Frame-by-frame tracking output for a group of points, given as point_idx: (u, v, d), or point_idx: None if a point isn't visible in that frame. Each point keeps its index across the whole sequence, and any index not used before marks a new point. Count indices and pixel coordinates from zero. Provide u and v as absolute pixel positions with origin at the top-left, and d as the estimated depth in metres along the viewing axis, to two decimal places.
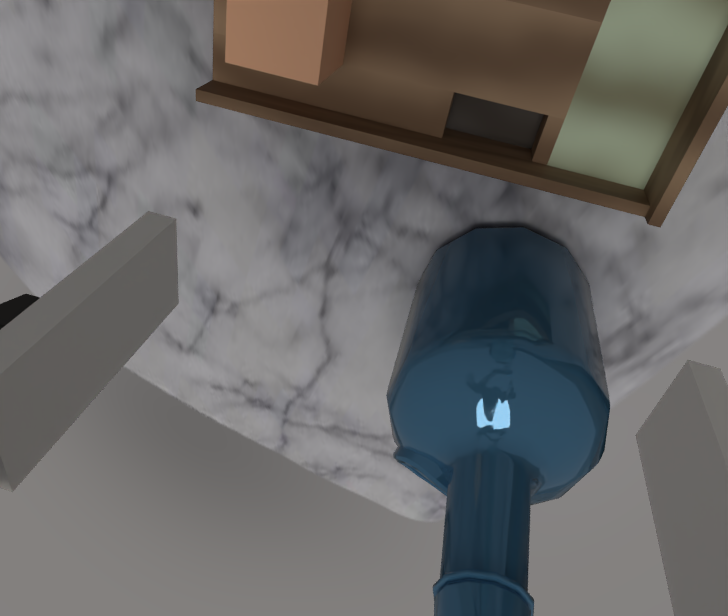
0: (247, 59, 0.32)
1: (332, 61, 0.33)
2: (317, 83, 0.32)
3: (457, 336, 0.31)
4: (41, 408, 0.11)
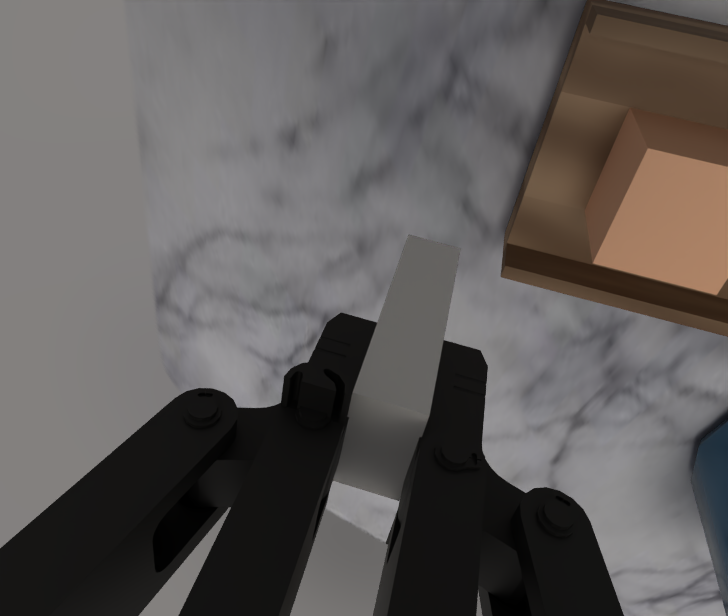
0: (626, 262, 0.25)
1: None
2: (716, 292, 0.25)
3: None
4: None
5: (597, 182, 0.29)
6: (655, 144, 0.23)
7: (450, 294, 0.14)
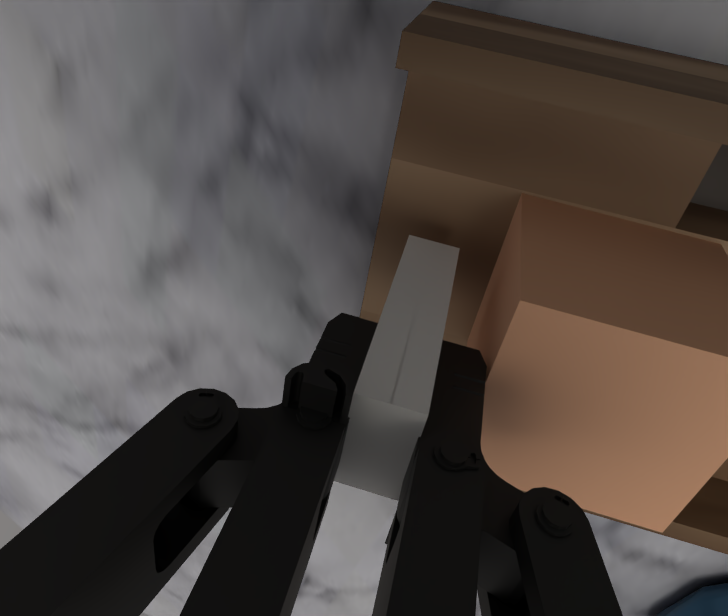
0: (505, 472, 0.14)
1: None
2: (662, 529, 0.14)
3: None
4: None
5: (481, 303, 0.18)
6: (538, 288, 0.12)
7: (449, 294, 0.14)
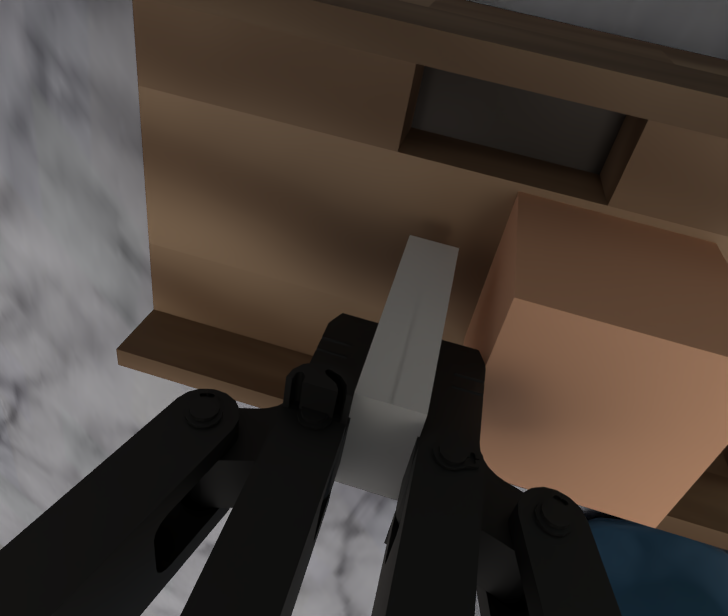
0: (499, 468, 0.15)
1: None
2: (655, 524, 0.14)
3: None
4: None
5: (478, 301, 0.18)
6: (533, 285, 0.12)
7: (448, 294, 0.14)
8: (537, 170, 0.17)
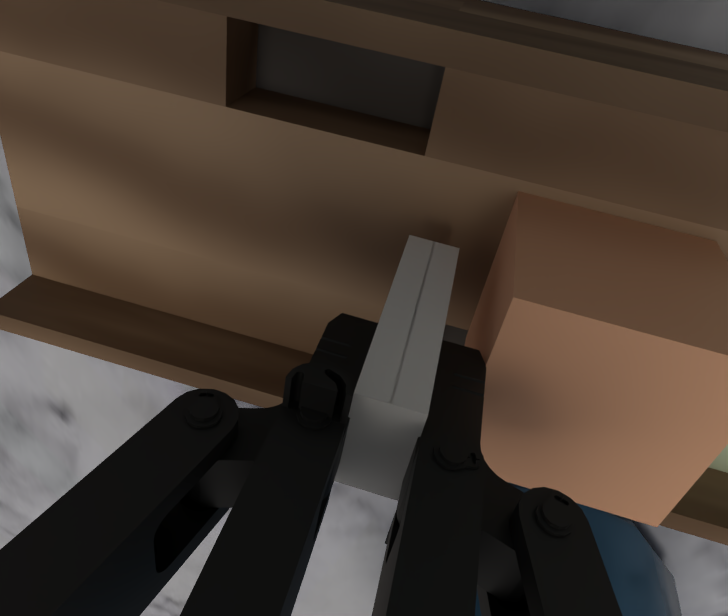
0: (501, 467, 0.15)
1: None
2: (657, 523, 0.14)
3: None
4: None
5: (479, 301, 0.18)
6: (532, 285, 0.12)
7: (449, 294, 0.14)
8: (368, 125, 0.17)
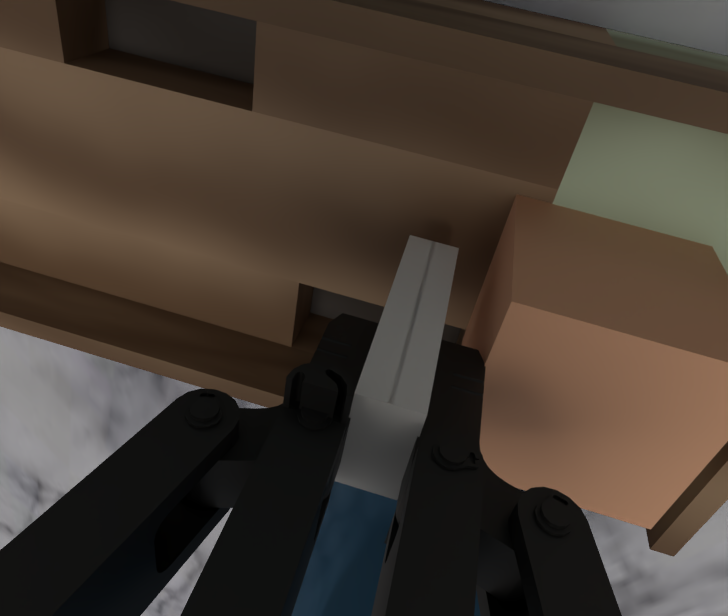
0: (497, 469, 0.15)
1: None
2: (651, 526, 0.15)
3: None
4: None
5: (476, 303, 0.18)
6: (531, 289, 0.12)
7: (448, 293, 0.14)
8: (210, 84, 0.18)
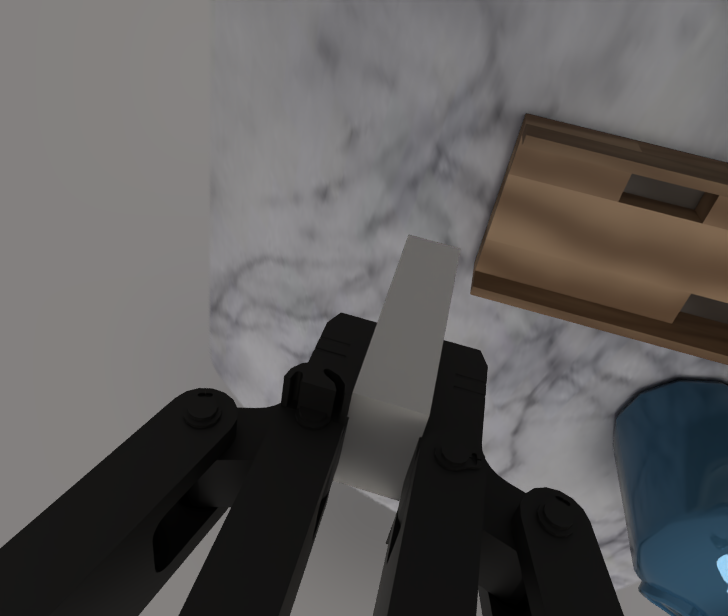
0: None
1: None
2: None
3: (719, 510, 0.39)
4: None
5: None
6: None
7: (450, 294, 0.14)
8: (670, 208, 0.42)
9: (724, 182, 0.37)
